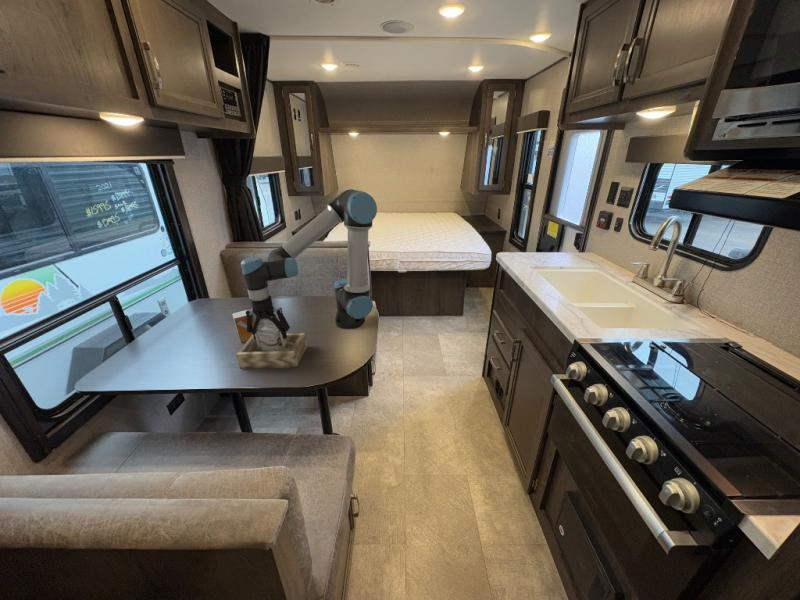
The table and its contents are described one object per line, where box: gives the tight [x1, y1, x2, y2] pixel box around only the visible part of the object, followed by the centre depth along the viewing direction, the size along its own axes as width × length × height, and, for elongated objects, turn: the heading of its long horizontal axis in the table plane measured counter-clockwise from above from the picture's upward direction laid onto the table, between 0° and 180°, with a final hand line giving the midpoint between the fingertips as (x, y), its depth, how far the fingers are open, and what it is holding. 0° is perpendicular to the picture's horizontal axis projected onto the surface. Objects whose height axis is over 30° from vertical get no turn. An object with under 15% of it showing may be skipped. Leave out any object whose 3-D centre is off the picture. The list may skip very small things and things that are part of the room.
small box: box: [231, 309, 255, 344], centre depth 144 cm, size 8×6×13 cm
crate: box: [235, 332, 308, 370], centre depth 130 cm, size 23×15×7 cm, turn 90°
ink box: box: [257, 319, 286, 352], centre depth 128 cm, size 9×5×15 cm, turn 71°
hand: (272, 345), depth 129 cm, fingers open, 9 cm apart
